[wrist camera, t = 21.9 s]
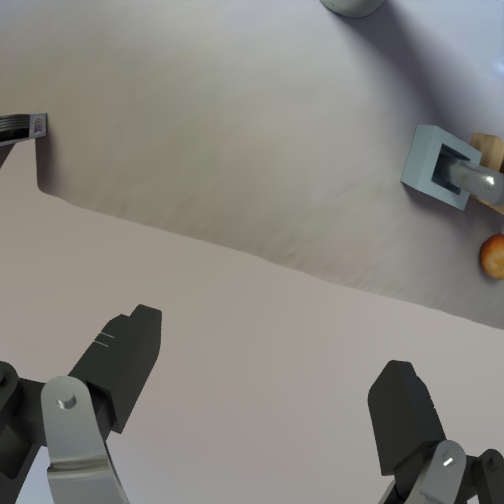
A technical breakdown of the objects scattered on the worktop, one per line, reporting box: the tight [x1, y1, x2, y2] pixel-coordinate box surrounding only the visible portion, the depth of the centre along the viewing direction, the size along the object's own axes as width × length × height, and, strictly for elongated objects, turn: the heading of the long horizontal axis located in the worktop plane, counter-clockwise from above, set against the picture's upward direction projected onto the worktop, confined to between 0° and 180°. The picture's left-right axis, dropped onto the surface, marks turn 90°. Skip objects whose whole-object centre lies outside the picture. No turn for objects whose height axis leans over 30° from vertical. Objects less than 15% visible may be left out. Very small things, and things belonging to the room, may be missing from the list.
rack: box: [400, 124, 482, 211], centre depth 33 cm, size 9×9×6 cm
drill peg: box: [432, 153, 504, 206], centre depth 28 cm, size 4×4×15 cm
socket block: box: [469, 133, 504, 216], centre depth 32 cm, size 10×10×6 cm
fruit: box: [481, 231, 504, 280], centre depth 37 cm, size 8×8×8 cm
